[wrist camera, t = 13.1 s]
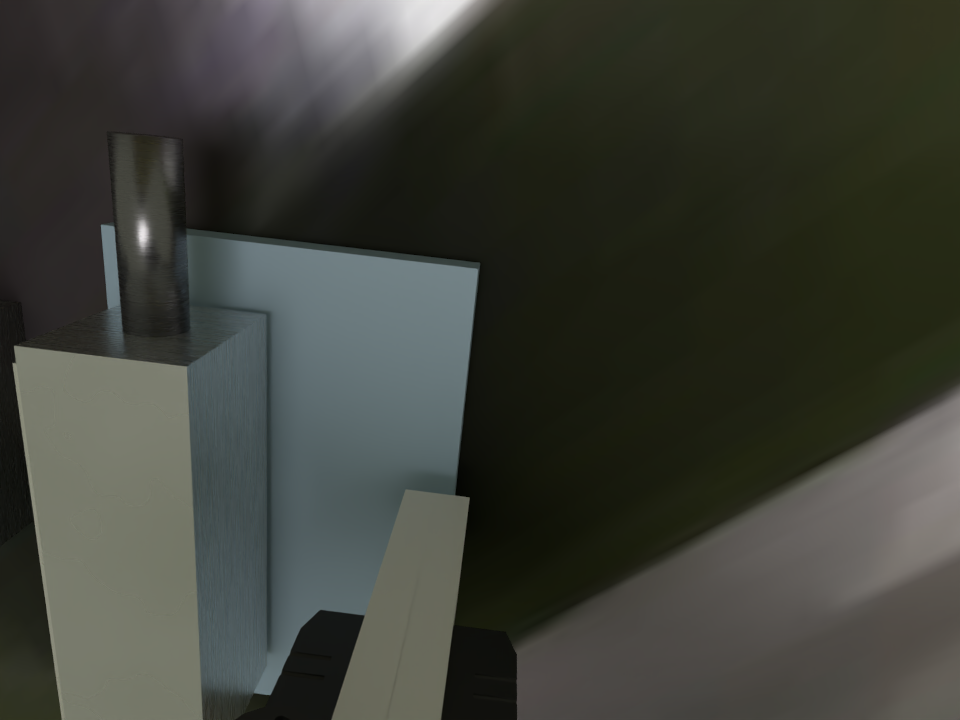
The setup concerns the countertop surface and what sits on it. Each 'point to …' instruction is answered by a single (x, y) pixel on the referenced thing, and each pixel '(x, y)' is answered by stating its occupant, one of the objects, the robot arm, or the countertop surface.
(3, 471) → the steel block
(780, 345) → the countertop surface
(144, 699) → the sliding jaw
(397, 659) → the robot arm
